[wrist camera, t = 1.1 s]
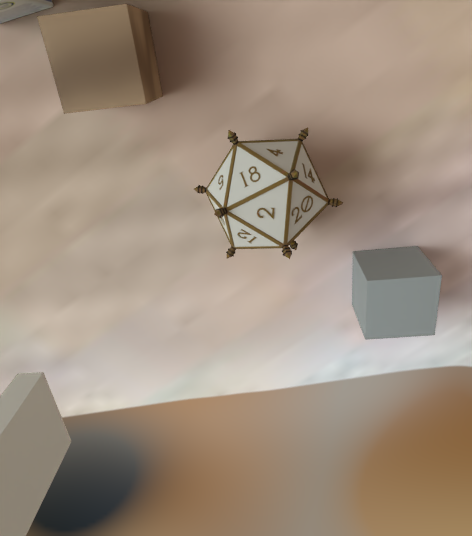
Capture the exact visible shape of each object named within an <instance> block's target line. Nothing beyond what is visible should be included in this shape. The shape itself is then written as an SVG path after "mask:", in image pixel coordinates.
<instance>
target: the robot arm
mask: <svg viewBox="0 0 472 536" xmlns="http://www.w3.org/2000/svg"><path fill="white" fill-rule="evenodd" d="M70 443H71V439H70V437H69V434H68V432H67V429H66V427H65V425H64V422H63V420H62V417H61V415H60V412H59V410H58V407H57V405H56V402H55V400H54V397H53V395H52V393H51V390H50V388H49V385H48V383H47V380H46V378H45V375H44V373H43V372H39V373H21V374H17V375H16V376H15V378H14V379H13V380H12V382H11V383H10V384H9V386H8V387H7V388H6V390H5V391H4V392H3V394H2V395H1V396H0V536H26V534H27V532H28V530H29V528H30V526H31V523H32V521H33V519H34V517H35V515H36V513H37V511H38V509H39V507H40V505H41V503H42V501H43V499H44V497H45V495H46V492H47V490H48V489H49V486H50V484H51V482H52V480H53V478H54V476H55V474H56V472H57V470H58V468H59V466H60V463H61V462H62V460H63V458H64V456H65V454H66V451H67V449H68V447H69V445H70Z"/></svg>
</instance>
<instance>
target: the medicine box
mask: <svg viewBox="0 0 472 536" xmlns="http://www.w3.org/2000/svg"><path fill="white" fill-rule="evenodd" d="M51 7H53V2H52V0H0V24H1V23H4V22H7V21H10V20H13V19H16V18H19V17H22V16H25V15H29V14H32V13H35V12H38V11H41V10H44V9H47V8H51Z"/></svg>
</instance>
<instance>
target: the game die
mask: <svg viewBox="0 0 472 536" xmlns="http://www.w3.org/2000/svg"><path fill="white" fill-rule="evenodd" d="M307 136H308V128H306V129H304V130H301V133H300V134H299V138H298V139H285V140H261V141H238V139H237V138H238V137H237V136H236V133H233V132H231V131H230V130H229V133H228V139H229V140H230V142H232V143H233V146H232V148H231V149H230V151H229V153H228V154H227V156H226V157H225V159H224V161H223V162H222V164H221V166H220V167H219V169H218V170H217V172H216V174H215V175H214V177H213V178H212V180H211V182H210V183H209V185H208V186H207V187H206V188H205V187H203V186H200V185H199V186H198V187H196V188H194V190H195V191H197V192H198V193H205V192H206V194H207V196H208V198H209V200H210V202H211V204H212V206H213V208H214V210H215V214H214V215H216V216H217V217H218V219H219V221H220V223H221V225H222V227H223V229H224V231H225V233H226V236H227V238H228V240H229V242H230V244H231V248H230V249H228V251H227V252H226V253H227V258H229V257H232V256H233V255H234V253H235V250H236V249H257V248H283V251H282V252H283V255H284V256H286V257H288V258H289V259H290V256H291V254H292V251H290V248H289V247H288V245H290V247H291V248H292V249H295V250H296V249H297V245H298V244H297V243H296V241H294V240H295V238H296V237H297V236H298V235H299V234H300V233H301V232H302V231H303V230H304V229H305V228H306V227H307V226H308V225H309V224H310V223H311V222H312V221H313V220H314V219H315V218H316V217H317V216H318V215H319V214H320V213H321V212H322V211H323V210H324V208H325V207H326V206H327V205H332V207H333V206H336V207H337V206H339V205H341V204H343V202H341V201H340V200H338V199H334V198H333V199H329V198H328V196H327V194H326V192H325V190H324V188H323V185H322V183H321V181H320V179H319V177H318V175H317V173H316V170H315V168H314V166H313V164H312V162H311V160H310V158H309V155H308V153H307V151H306V149H305V147H304V145H303V143H302V141H303V140H304V139H306V137H307Z"/></svg>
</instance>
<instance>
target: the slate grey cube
mask: <svg viewBox="0 0 472 536" xmlns="http://www.w3.org/2000/svg"><path fill="white" fill-rule="evenodd" d="M441 278H442V275H441V274H440V273H439V271H438V270H437V269H436V268H435V267H434V265H433V264H432V263H431V262H430V261H429V259H428V258H427V257H426V256H425V255H424V253H423V252H422V251H421V250H420V249H419V247H418V246H412V247H400V248H388V249H376V250H364V251H353V272H352V306H353V308H354V311H355V314H356V316H357V319H358V321H359V324H360V327H361V329H362V332H363V335H364V337H365V339H381V338H397V337H412V336H428V335H435V328H436V319H437V311H438V303H439V295H440V286H441Z"/></svg>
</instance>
